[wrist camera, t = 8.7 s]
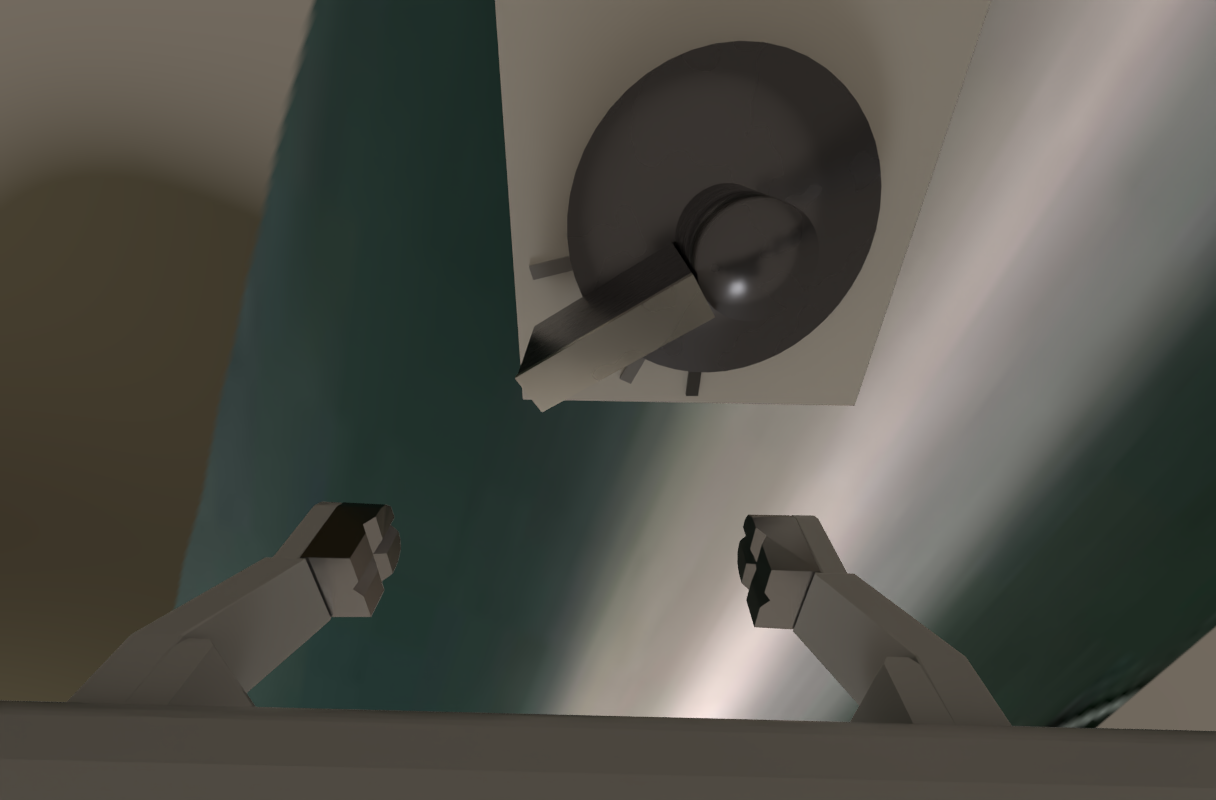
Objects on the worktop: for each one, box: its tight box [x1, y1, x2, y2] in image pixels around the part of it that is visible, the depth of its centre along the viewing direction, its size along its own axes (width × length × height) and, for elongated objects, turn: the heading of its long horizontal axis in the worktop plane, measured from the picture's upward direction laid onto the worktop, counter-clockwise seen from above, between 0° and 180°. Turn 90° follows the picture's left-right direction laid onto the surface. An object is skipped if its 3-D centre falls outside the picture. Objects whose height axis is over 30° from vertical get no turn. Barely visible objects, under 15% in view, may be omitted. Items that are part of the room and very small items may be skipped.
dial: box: [515, 41, 882, 412], centre depth 14 cm, size 12×10×5 cm
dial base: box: [495, 0, 991, 406], centre depth 17 cm, size 14×14×2 cm
